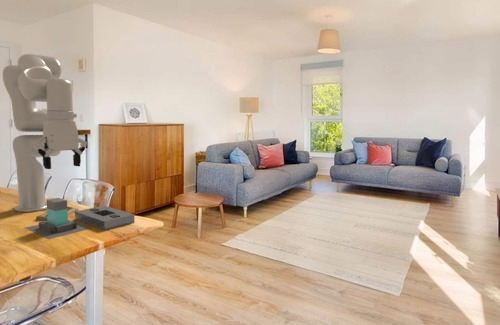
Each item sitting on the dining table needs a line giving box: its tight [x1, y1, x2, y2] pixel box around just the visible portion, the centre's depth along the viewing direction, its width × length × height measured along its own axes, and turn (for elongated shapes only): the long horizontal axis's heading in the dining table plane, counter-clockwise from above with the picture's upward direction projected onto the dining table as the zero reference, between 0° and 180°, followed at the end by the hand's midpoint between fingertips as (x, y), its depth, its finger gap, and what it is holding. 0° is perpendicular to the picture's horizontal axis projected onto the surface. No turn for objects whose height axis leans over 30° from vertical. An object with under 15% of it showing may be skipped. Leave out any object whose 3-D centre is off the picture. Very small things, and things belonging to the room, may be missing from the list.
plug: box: [46, 197, 69, 226], centre depth 117 cm, size 6×4×10 cm, turn 54°
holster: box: [24, 219, 92, 240], centre depth 117 cm, size 18×14×3 cm
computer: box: [35, 205, 79, 221], centre depth 134 cm, size 16×8×3 cm, turn 179°
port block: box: [74, 205, 135, 231], centre depth 127 cm, size 20×12×4 cm, turn 54°
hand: (62, 167), depth 115 cm, fingers open, 9 cm apart
